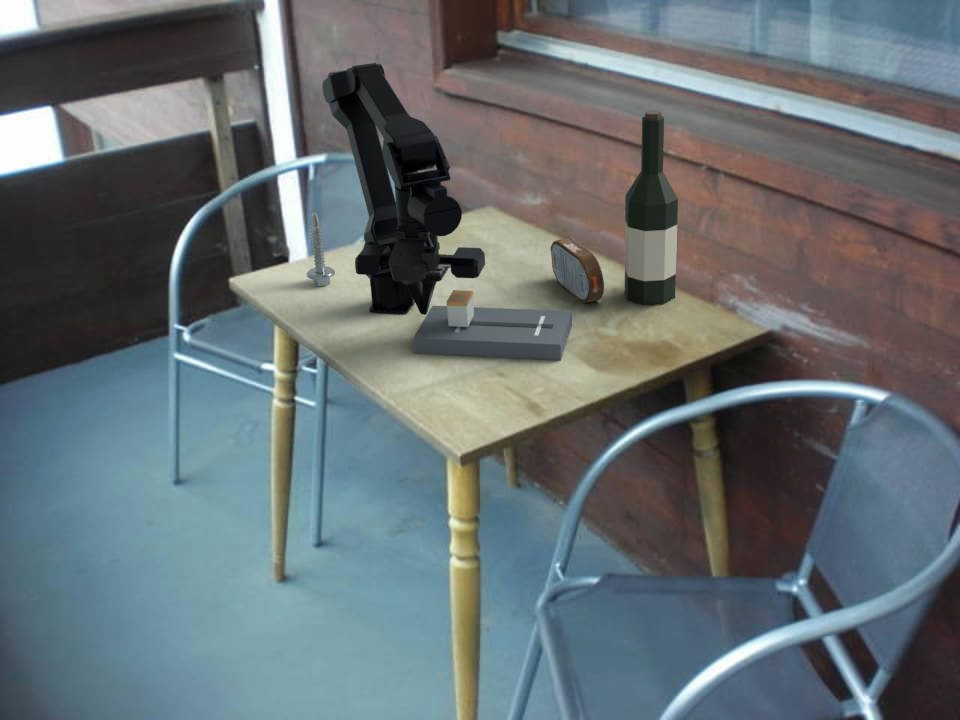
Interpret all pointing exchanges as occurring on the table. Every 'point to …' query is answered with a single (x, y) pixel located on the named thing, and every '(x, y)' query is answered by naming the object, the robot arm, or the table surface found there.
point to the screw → (318, 256)
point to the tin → (577, 270)
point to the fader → (460, 308)
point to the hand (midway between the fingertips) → (424, 313)
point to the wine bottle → (651, 223)
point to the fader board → (496, 333)
